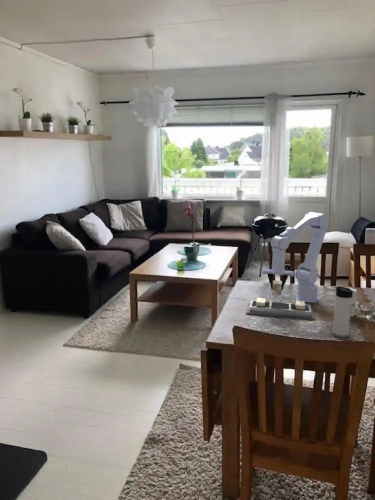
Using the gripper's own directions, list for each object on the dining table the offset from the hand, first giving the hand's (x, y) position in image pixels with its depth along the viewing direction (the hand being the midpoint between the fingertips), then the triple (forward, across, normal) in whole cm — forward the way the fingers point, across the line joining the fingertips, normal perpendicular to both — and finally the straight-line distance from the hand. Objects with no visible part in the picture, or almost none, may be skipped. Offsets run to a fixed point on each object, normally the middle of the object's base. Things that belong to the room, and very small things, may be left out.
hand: (276, 289), depth 197 cm
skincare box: (+9, +32, -3) cm, 33 cm away
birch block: (+2, 0, 0) cm, 2 cm away
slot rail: (+8, +2, -7) cm, 11 cm away
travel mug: (+9, +26, -27) cm, 38 cm away
